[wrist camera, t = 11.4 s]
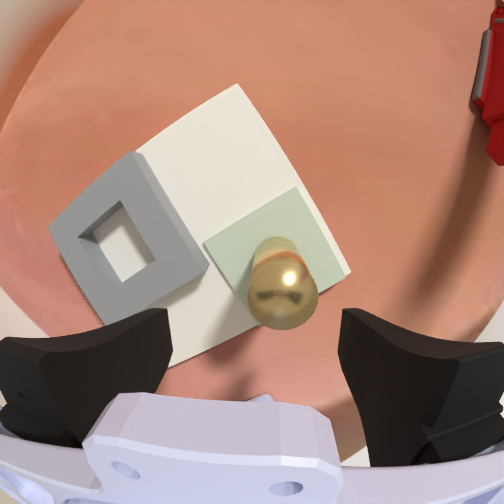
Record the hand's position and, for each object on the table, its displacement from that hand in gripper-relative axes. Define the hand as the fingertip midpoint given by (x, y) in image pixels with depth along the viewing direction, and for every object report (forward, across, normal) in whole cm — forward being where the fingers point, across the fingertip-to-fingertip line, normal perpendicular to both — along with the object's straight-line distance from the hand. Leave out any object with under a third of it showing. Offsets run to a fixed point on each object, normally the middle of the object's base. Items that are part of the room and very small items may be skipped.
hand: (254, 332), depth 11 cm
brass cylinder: (+8, -1, -1) cm, 8 cm away
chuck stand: (+9, +5, -2) cm, 11 cm away
